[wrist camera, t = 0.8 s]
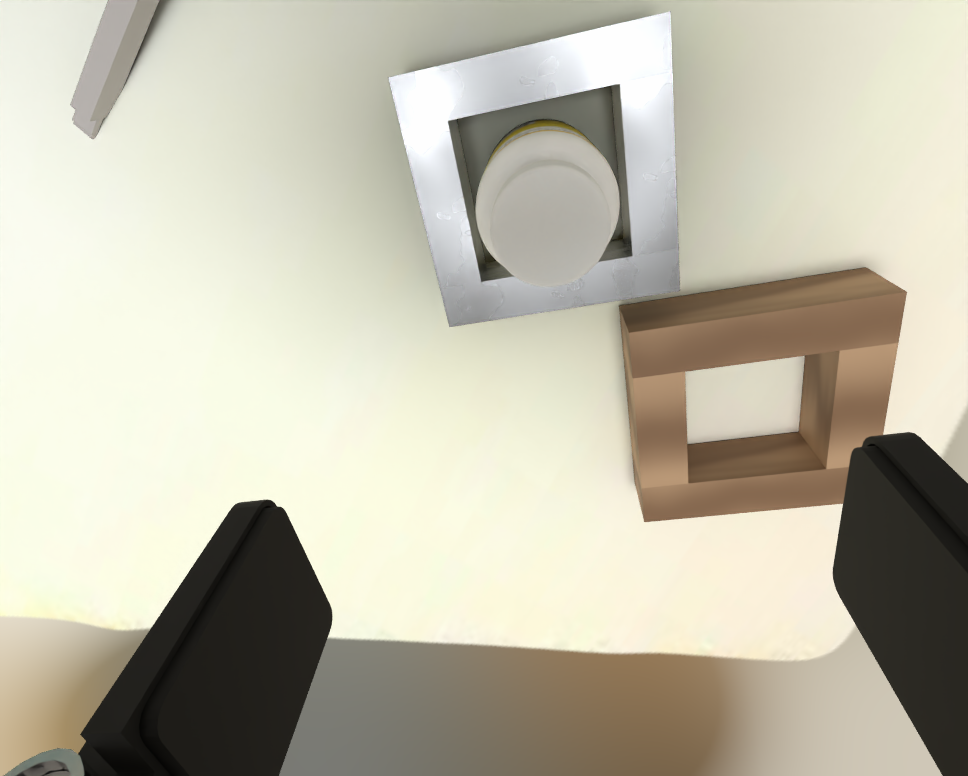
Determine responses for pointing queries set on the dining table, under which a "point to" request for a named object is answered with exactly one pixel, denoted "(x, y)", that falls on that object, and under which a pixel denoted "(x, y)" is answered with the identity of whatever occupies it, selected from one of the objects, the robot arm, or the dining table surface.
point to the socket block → (530, 78)
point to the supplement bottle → (547, 203)
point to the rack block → (753, 338)
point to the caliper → (110, 61)
